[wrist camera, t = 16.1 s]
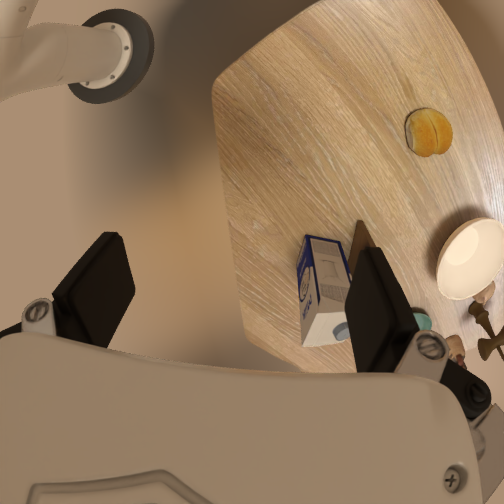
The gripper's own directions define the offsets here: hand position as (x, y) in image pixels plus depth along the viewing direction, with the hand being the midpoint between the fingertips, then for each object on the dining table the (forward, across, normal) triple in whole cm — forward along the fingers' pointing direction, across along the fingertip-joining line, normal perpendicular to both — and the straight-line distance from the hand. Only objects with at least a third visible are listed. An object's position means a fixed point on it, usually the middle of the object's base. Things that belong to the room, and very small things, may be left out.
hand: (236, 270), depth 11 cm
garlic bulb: (+36, -55, +28) cm, 72 cm away
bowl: (+36, -43, +18) cm, 59 cm away
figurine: (+36, -58, +51) cm, 85 cm away
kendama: (+36, -59, +36) cm, 78 cm away
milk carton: (+36, -11, +22) cm, 44 cm away
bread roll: (+36, -27, -3) cm, 45 cm away
